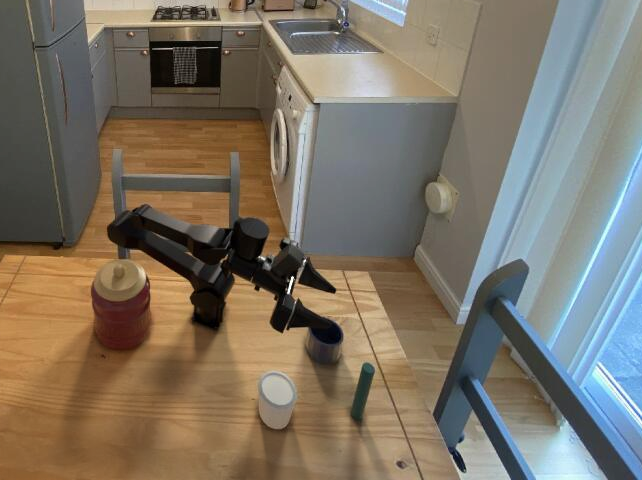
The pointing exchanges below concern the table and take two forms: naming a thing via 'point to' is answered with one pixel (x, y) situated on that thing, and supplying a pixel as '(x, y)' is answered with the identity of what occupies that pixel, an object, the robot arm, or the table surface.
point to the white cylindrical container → (276, 399)
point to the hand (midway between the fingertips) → (333, 308)
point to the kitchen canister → (121, 304)
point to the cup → (325, 343)
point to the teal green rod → (362, 390)
